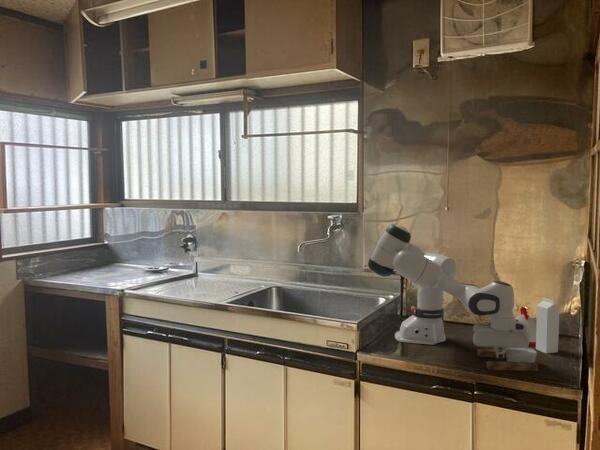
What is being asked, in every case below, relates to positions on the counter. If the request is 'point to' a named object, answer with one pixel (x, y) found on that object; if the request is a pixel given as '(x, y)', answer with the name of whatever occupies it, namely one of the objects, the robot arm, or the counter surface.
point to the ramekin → (521, 355)
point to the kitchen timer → (528, 325)
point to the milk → (547, 326)
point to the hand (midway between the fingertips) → (500, 357)
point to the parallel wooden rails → (505, 365)
